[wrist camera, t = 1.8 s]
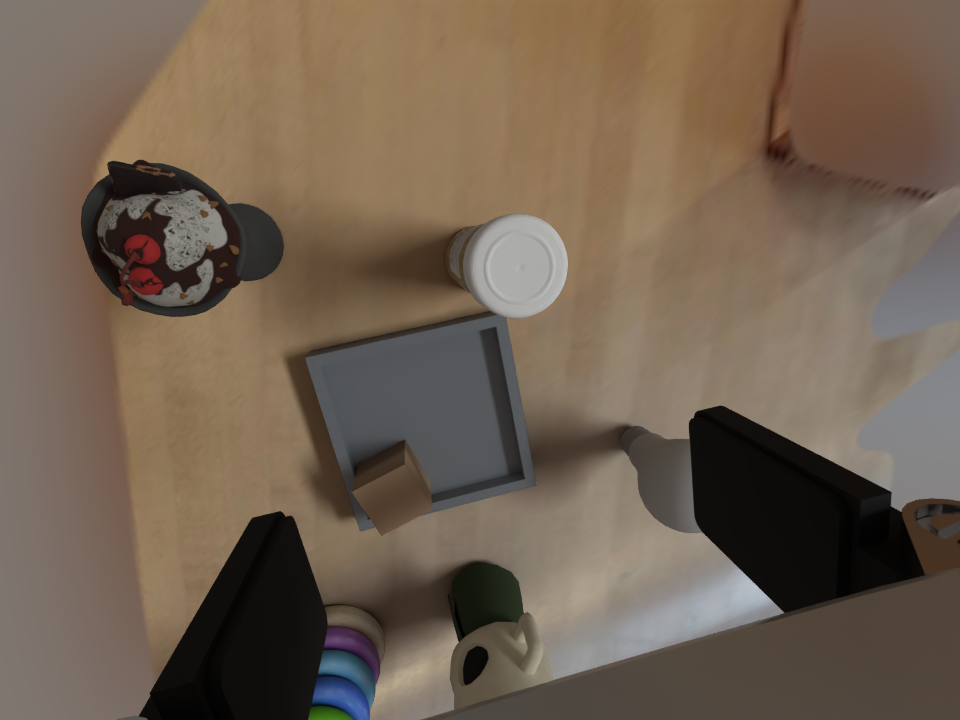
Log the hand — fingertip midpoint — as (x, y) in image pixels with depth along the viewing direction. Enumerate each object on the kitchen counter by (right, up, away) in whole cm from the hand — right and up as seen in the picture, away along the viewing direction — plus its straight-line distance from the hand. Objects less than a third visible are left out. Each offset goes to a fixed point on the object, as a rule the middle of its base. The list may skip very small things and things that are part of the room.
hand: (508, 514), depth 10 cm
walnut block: (-7, -5, +24) cm, 26 cm away
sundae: (-16, +11, +20) cm, 28 cm away
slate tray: (-5, -1, +24) cm, 25 cm away
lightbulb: (+12, -3, +28) cm, 30 cm away
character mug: (0, -17, +29) cm, 34 cm away
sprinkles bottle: (-1, +11, +22) cm, 25 cm away
